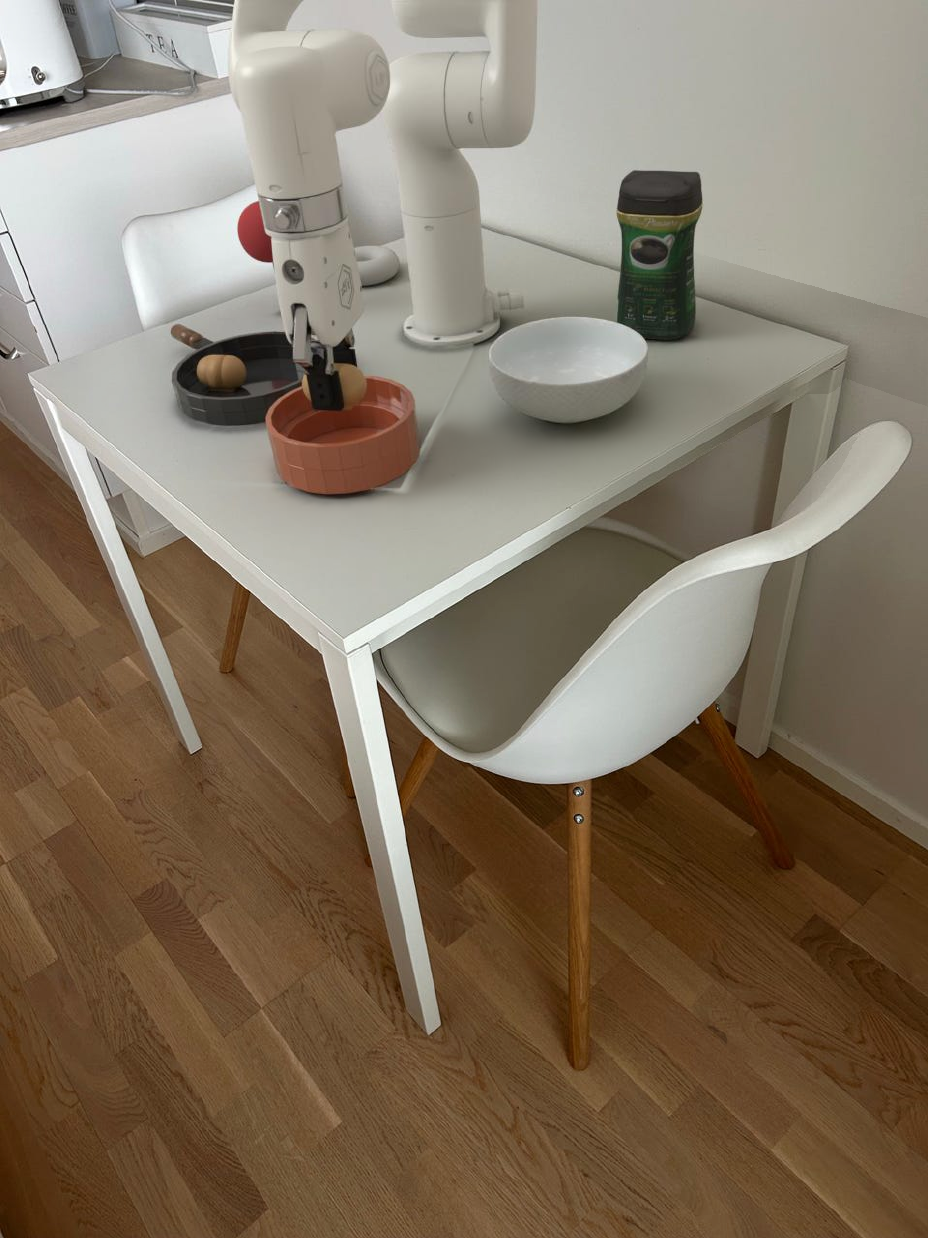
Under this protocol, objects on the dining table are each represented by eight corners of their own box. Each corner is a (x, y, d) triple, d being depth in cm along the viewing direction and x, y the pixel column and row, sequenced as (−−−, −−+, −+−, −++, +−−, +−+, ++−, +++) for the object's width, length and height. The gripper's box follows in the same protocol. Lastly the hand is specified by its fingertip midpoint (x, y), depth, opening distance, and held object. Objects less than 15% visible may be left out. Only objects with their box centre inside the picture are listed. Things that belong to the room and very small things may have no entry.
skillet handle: (221, 354, 121) (217, 339, 120) (207, 359, 120) (203, 344, 119) (183, 334, 127) (179, 320, 126) (170, 339, 126) (166, 325, 125)
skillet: (323, 350, 125) (318, 322, 122) (339, 413, 111) (333, 383, 108) (181, 374, 123) (173, 345, 120) (179, 441, 109) (169, 410, 106)
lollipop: (322, 306, 136) (302, 195, 127) (287, 327, 131) (263, 213, 122) (281, 299, 140) (259, 190, 130) (246, 319, 135) (219, 207, 125)
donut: (325, 290, 141) (391, 289, 139) (321, 266, 139) (387, 264, 137) (345, 265, 149) (408, 263, 146) (341, 242, 146) (405, 240, 144)
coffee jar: (700, 319, 122) (712, 163, 110) (684, 345, 117) (695, 183, 105) (626, 313, 126) (630, 160, 114) (607, 337, 120) (609, 180, 109)
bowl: (408, 415, 109) (401, 365, 105) (432, 483, 97) (426, 430, 93) (273, 438, 107) (262, 389, 103) (282, 510, 96) (269, 457, 92)
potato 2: (374, 395, 99) (369, 356, 96) (362, 414, 96) (356, 375, 93) (314, 393, 100) (307, 355, 98) (300, 412, 97) (292, 373, 94)
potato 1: (254, 380, 118) (247, 349, 115) (241, 395, 115) (234, 364, 112) (209, 379, 119) (201, 348, 117) (196, 394, 116) (187, 363, 114)
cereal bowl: (533, 460, 99) (531, 397, 95) (468, 397, 111) (463, 338, 107) (675, 418, 103) (679, 355, 99) (598, 361, 116) (598, 303, 111)
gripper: (310, 240, 79) (346, 440, 90) (371, 180, 91) (395, 362, 103) (226, 241, 81) (271, 436, 92) (297, 182, 93) (329, 360, 105)
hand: (336, 395), depth 97 cm, fingers closed on potato 2, 4 cm apart
